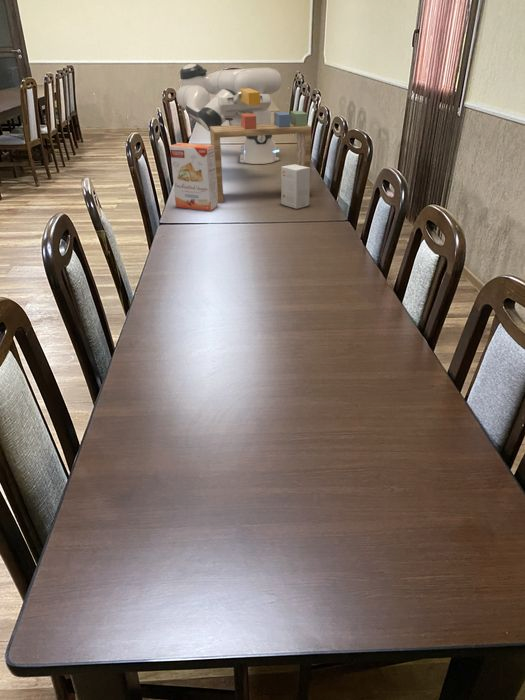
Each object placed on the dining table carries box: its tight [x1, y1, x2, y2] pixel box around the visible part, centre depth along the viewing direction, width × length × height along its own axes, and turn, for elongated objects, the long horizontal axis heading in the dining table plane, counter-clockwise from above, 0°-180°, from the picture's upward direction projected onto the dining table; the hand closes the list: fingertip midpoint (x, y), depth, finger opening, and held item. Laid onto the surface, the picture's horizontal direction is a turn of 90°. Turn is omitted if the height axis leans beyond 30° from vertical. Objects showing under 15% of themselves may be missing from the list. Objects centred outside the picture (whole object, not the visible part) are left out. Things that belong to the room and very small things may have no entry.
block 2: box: [273, 111, 291, 127], centre depth 189 cm, size 8×4×4 cm, turn 11°
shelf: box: [209, 122, 312, 204], centre depth 195 cm, size 12×34×24 cm, turn 101°
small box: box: [280, 163, 311, 209], centre depth 185 cm, size 8×6×13 cm
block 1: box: [241, 113, 256, 129], centre depth 187 cm, size 8×4×4 cm, turn 11°
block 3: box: [290, 110, 308, 127], centre depth 190 cm, size 8×4×4 cm, turn 11°
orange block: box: [240, 88, 260, 105], centre depth 195 cm, size 20×4×4 cm, turn 11°
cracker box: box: [169, 142, 219, 212], centre depth 183 cm, size 14×6×21 cm, turn 68°
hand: (246, 93), depth 200 cm, fingers closed on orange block, 4 cm apart
